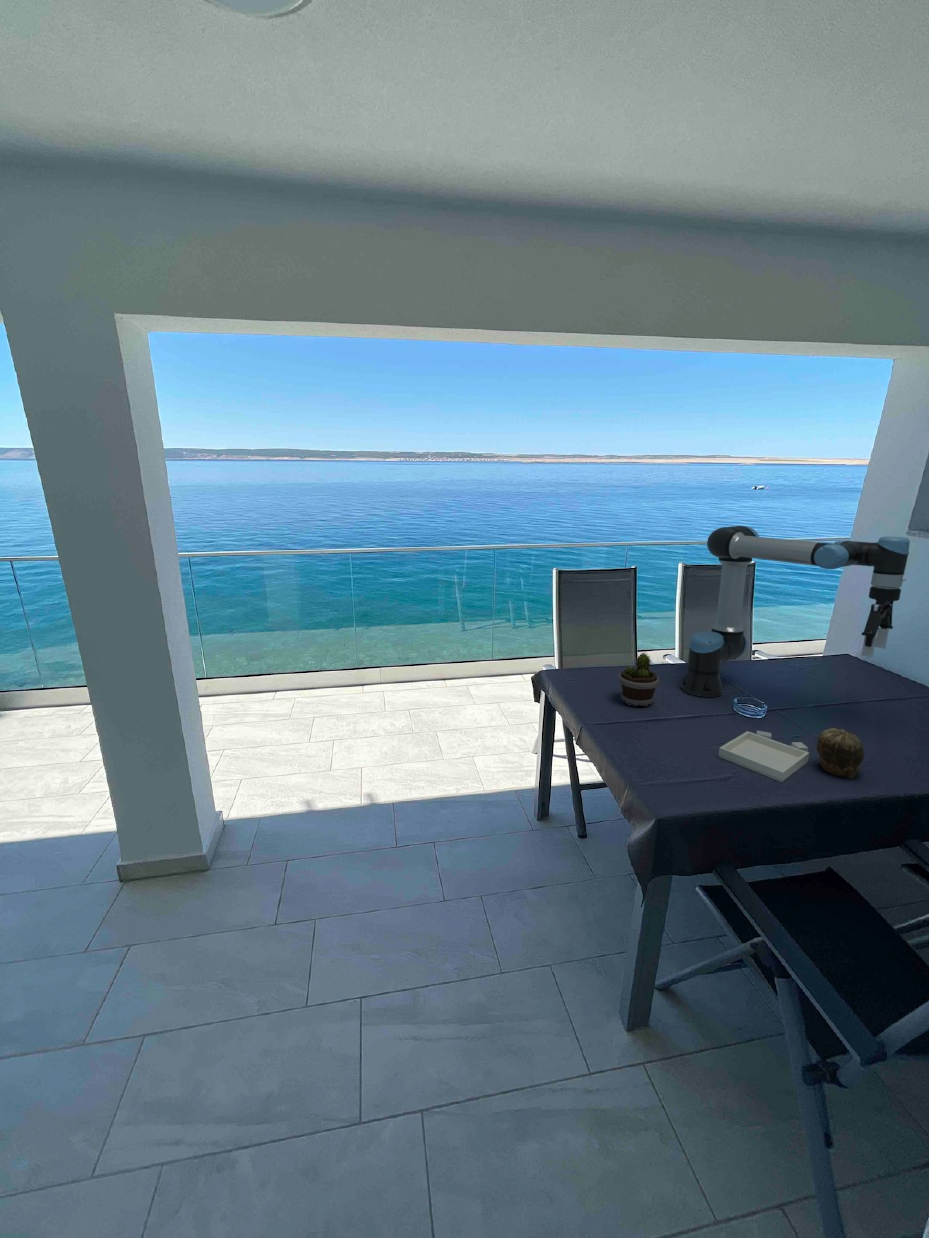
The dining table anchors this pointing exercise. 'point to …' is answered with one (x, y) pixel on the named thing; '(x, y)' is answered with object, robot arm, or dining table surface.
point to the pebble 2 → (799, 746)
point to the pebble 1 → (764, 734)
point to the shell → (840, 752)
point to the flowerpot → (638, 682)
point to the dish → (764, 756)
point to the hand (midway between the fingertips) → (873, 651)
